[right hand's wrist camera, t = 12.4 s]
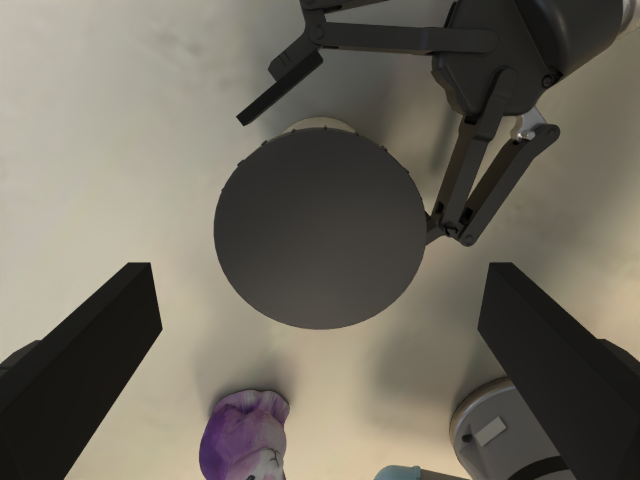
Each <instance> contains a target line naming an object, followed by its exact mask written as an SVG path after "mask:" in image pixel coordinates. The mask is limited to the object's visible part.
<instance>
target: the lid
mask: <svg viewBox="0 0 640 480" xmlns="http://www.w3.org/2000/svg"><path fill="white" fill-rule="evenodd" d="M387 151H388V150H387V149H386V148H385V147H383V146H382V147H380V146H379V145H378V144H376V143H374V142H373V141H371V140H369V139H368V138H365V137H363V136H361V135H359V134H358V133H357V132H356V131H355V133H353V132H350V131H346V130H342V129H336V128H328V127H327V126H326V125H324V127H311V128H304V129H298V130H295V129H293V130H292V131H291V132H287V133H284V134H282V135H280V136H277V137H275V138H273V139H271V140H269V141H268V142H267V140H266V141H264V142H263V143H262V144H261V146H260V147H259V148H257V149H256V150H255V151H254V152H253V153H251V154H250V155H249V156H248V157H247V158H246V159H245V160H242V161H241V162H240V163H238V165H237V166H238V167H237V168H236V169H235V171H234V172H233V173H232V175H231V176H230V178H229V179H228V181H227V182H226V184H225V186H224V188H223V189H222V190H221V191H222V192H221V195H220V197H219V200H218V204H217V207H216V212H215V218H214V242H215V249H216V252H217V256H218V260H219V262H220V265H221V267H222V270H223V272H224V274H225V275H226V277H227V279H228V281H229V282H230V284H231V285H232V286H233V288H234V289H235V290H236V292H237V293H238V294H239V295H240V296H241V297H242V298H243V299H244V300H245V301H246V302H247V303H248V304H250V305H251V306H252V307H253V308H255V309H256V310H257V311H259V312H261V313H262V314H264V315H266V316H267V317H269V318H272V319H274V320H276V321H278V322H281V323H284V324H287V325H290V326H294V327H299V328H305V329H314V330H318V329H335V328H342V327H346V326H350V325H354V324H357V323H359V322H362V321H365V320H367V319H369V318H371V317H373V316H375V315H377V314H378V313H380V312H381V311H383V310H384V309H386V308H387V307H388V306H390V305H391V304H392V303H393V302H394V301H396V299H397V298H398V297H399V296H400V295H401V294H402V293H403V292H404V291H405V290H406V288H407V287H408V286H409V284H410V283H411V281H412V280H413V278H414V276H415V274H416V273H417V271H418V268H419V266H420V263H421V261H422V258H423V254H424V250H425V246H426V236H427V224H426V215H425V210H424V205H423V202H422V198H421V196H420V193H419V191H418V189H417V188H416V186H415V184H414V182H413V180H412V179H411V177H410V176H409V172H408V171H407V170H406V169H405V168H404V167H402V166H401V165H400V164H399V162H398V161H397V160H396V159H395V158H394V157H392V156H391V155H390V154H389V153H388V152H387Z"/></svg>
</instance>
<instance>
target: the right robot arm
mask: <svg viewBox="0 0 640 480" xmlns="http://www.w3.org/2000/svg"><path fill="white" fill-rule="evenodd" d="M162 330H163V328H162V323H161V318H160V312H159V307H158V301H157V296H156V290H155V285H154V280H153V274H152V269H151V263H150V262H128V263H127V264H126V265H125V266H124V267H123V268H122V269H120V270H119V271H118V272H117V273H116V274H115V275H114V276H113V277H112V278H110V279H109V280H108V281H107V282H106V283H105V284H104V285H103V286H101V287H100V288H99V289H98V290H97V291H96V292H95V293H94V294H93V295H91V296H90V297H89V298H88V299H87V300H86V301H85V302H84V303H82V304H81V305H80V306H79V307H78V308H77V309H76V310H75V311H74V312H72V313H71V314H70V315H69V316H68V317H67V318H66V319H65V320H63V321H62V322H61V323H60V324H59V325H58V326H57V327H56V328H55V329H53V330H52V331H51V332H50V333H49V334H48V335H47V336H46V337H45V338H43V339H42V340H35V341H33V342H32V343H30V344H28V345H26V346H25V347H23V348H21V349H19V350H17V351H16V352H14V353H13V354H11V355H10V356H9V357H8V358H7V359H6V360H4V361H3V362H2V363H1V364H0V480H64V478H65V477H66V475H67V474H68V472H69V471H70V469H71V468H72V466H73V464H74V463H75V461H76V460H77V458H78V457H79V455H80V454H81V452H82V451H83V449H84V448H85V446H86V445H87V443H88V442H89V440H90V439H91V437H92V436H93V434H94V433H95V431H96V430H97V428H98V427H99V425H100V424H101V422H102V421H103V419H104V418H105V416H106V414H107V413H108V411H109V410H110V408H111V407H112V405H113V404H114V402H115V401H116V399H117V398H118V396H119V395H120V393H121V392H122V390H123V389H124V387H125V386H126V384H127V383H128V381H129V380H130V378H131V377H132V375H133V374H134V372H135V371H136V369H137V367H138V366H139V364H140V363H141V361H142V360H143V358H144V357H145V355H146V354H147V352H148V351H149V349H150V348H151V346H152V345H153V343H154V342H155V340H156V339H157V337H158V336H159V334H160V333H161V331H162ZM477 330H478V331H479V333H480V334H481V336H482V337H483V339H484V340H485V342H486V343H487V345H488V346H489V348H490V349H491V351H492V352H493V354H494V355H495V357H496V358H497V360H498V361H499V363H500V364H501V366H502V367H503V369H504V371H505V372H506V374H507V375H508V377H509V378H510V380H511V381H512V383H513V384H514V386H515V387H516V389H517V390H518V392H519V393H520V395H521V396H522V398H523V399H524V401H525V402H526V404H527V405H528V407H529V408H530V410H531V411H532V413H533V414H534V416H535V418H536V419H537V421H538V422H539V424H540V425H541V427H542V428H543V430H544V431H545V433H546V434H547V436H548V437H549V439H550V440H551V442H552V443H553V445H554V446H555V448H556V449H557V451H558V452H559V454H560V455H561V457H562V458H563V460H564V461H565V463H566V464H567V466H568V468H569V469H570V471H571V472H572V474H573V475H574V477H575V478H576V480H640V362H639V361H638V360H637V359H635V358H634V357H633V356H632V355H631V354H629V353H628V352H627V351H625V350H624V349H622V348H620V347H618V346H616V345H615V344H613V343H611V342H609V341H607V340H606V339H597V338H595V337H594V336H593V335H592V334H591V333H590V332H589V331H588V330H587V329H585V328H584V327H583V326H582V325H581V324H580V323H579V322H578V321H577V320H575V319H574V318H573V317H572V316H571V315H570V314H569V313H568V312H566V311H565V310H564V309H563V308H562V307H561V306H560V305H559V304H558V303H556V302H555V301H554V300H553V299H552V298H551V297H550V296H549V295H547V294H546V293H545V292H544V291H543V290H542V289H541V288H540V287H539V286H537V285H536V284H535V283H534V282H533V281H532V280H531V279H530V278H528V277H527V276H526V275H525V274H524V273H523V272H522V271H521V270H520V269H518V268H517V267H516V266H515V265H514V264H513V263H512V262H490V263H489V269H488V274H487V280H486V285H485V290H484V296H483V301H482V307H481V312H480V318H479V323H478V328H477Z"/></svg>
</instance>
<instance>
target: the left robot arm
mask: <svg viewBox="0 0 640 480" xmlns="http://www.w3.org/2000/svg"><path fill="white" fill-rule="evenodd" d="M383 1H388V0H300V5H301V9H302V12H303V16H304V19H305V23H306V25H305V31H304V33H303V34H302V35H301V36H300V37H299V38H298V39H297V40H296V41H295V42H294V43H292V44H291V45H290V46H289V47H288V48H287V49H285V50H284V51H283V52H282V53H281V54H280V55H279V56H277V57H276V58H275V59H274V60H273V61H272V62H271V64H270V66H269V68H268V71H269V72H270V73H271V75H272V76H273V78H274V79H275V80H276V83H275V84H274V85H273V86H271V87H270V88H269V89H268V90H267V91H266V92H264V93H263V94H262V95H261V96H260V97H258V98H257V99H256V100H255V101H254V102H253V103H251V104H250V105H249V106H248V107H247V108H246V109H244V110H243V111H242V112H241V113H240V114H238V115H237V116H236V117H237V119H238V120H239V121H240V122H241V124H242V125H243V126H245V125H248V124H250V123H251V122H253V121H254V120H255V119H256V118H257V117H259V116H260V115H261V114H262V113H263V112H265V111H266V110H267V109H268V108H269V107H271V106H272V105H273V104H274V103H275V102H276V101H278V100H279V99H280V98H281V97H282V96H284V95H285V94H286V93H287V92H288V91H290V90H291V89H292V88H293V87H294V86H296V85H297V84H298V83H299V82H300V81H302V80H303V79H304V78H305V77H306V76H308V75H309V74H310V73H311V72H312V71H314V70H315V69H316V68H317V67H318V66H320V65H321V64H322V63H323V58H322V57H321V55H320V54H319V52H318V51H319V50H320V49H337V50H354V51H370V52H387V53H404V54H412V55H424V56H433V57H432V70H433V71H431V73H432V75H433V77H434V78H435V80H436V82H437V83H438V84H440V85H441V86H442V87H443V88H444V89H445V92H446V95H447V99H448V102H449V104H450V105H451V107H452V109H453V110H454V111H457V112H459V113H460V114H462V115H463V117H462V120H461V123H460V126H459V136H458V139H457V142H456V145H455V148H454V151H453V154H452V156H451V159H450V162H449V165H448V168H447V171H446V174H445V177H444V179H443V182H442V185H441V188H440V191H439V194H438V197H437V200H436V202H435V205H434V208H433V211H432V214H431V216H429V215H428V214H427V212H426V211H425V215H426V224H427V236H426V245H428V244H429V243H431V242H432V241H434V240H435V239H437V238H438V237H440V236H443V235H446V236H447V237H452V238H454V239H455V240H457V241H459V242H460V243H461V244H462V245H463V246H466V247H468V246H472V245H473V244H474V243H475V242H476V241H477V239H478V238H479V236H480V235H481V234H482V232H483V231H484V229H485V228H486V226H487V225H488V223H489V222H490V221H491V219H492V218H493V216H494V215H495V213H496V212H497V211H498V209H499V208H500V206H501V205H502V203H503V202H504V201H505V199H506V198H507V196H508V195H509V193H510V192H511V191H512V189H513V188H514V186H515V185H516V183H517V182H518V180H519V179H520V178H521V176H522V175H523V173H524V172H525V170H526V169H527V168H528V166H529V165H530V163H531V162H532V160H533V159H534V158H535V157H536V156H537V155H539V154H540V153H541V152H542V151H544V150H545V149H546V148H547V147H549V146H550V145H551V144H552V143H554V142H555V141H556V140H557V139H558V138H559V135H560V129H559V127H558V126H557V125H553V124H548V123H547V122H546V121H545V120H544V118H543V117H542V115H541V114H540V112H539V111H538V110H537V108H536V107H535V104H536V103H537V101H538V99H539V98H540V96H541V95H542V94H543V93H544V92H545V91H546V90H547V89H549V88H550V87H552V86H553V85H555V84H557V83H558V82H560V81H561V80H563V79H564V78H565V77H567V76H568V75H570V74H571V73H573V72H574V71H575V70H577V69H578V68H580V67H581V66H583V65H584V64H585V63H587V62H588V61H590V60H591V59H593V58H594V57H595V56H597V55H598V54H600V53H601V52H603V51H604V50H606V49H607V48H608V47H609V46H610V45H611V44H612V43H613V42H614V40H618V39H620V38H622V37H624V36H626V35H628V34H629V33H630V32H632V31H633V30H635V29H636V28H637V27H639V26H640V0H454V2H453V4H452V6H451V8H450V11H449V13H448V16H447V19H446V22H445V24H444V27H443V28H438V27H426V28H414V27H398V26H382V25H365V24H349V23H333V22H326V19H325V16H324V14H328V13H332V12H337V11H342V10H346V9H351V8H355V7H360V6H365V5H369V4H374V3H379V2H383ZM502 116H516V118H517V121H516V125H515V126H514V128H513V129H512V130H511V131H510V136H511V139H509V140H508V141H507V143H506V144H505V145H504V146H503V147H502V149H501V150H500V151H499V153H498V154H497V156H496V157H495V159H494V160H493V162H492V163H491V165H490V166H489V168H488V170H487V171H486V173H485V174H484V176H483V177H482V179H481V180H480V182H479V183H478V185H477V186H476V188H475V189H474V191H473V192H472V194H471V195H470V197H469V198H468V196H469V193H470V190H471V188H472V185H473V182H474V180H475V177H476V174H477V172H478V169H479V167H480V164H481V161H482V159H483V156H484V153H485V151H486V148H487V145H488V143H489V142H490V141H491V140H492V139H493V138H494V136H495V134H496V131H497V129H498V126H499V123H500V121H501V118H502ZM467 198H468V200H467ZM450 439H451V443H452V445H453V448H454V451H455V453H456V456H457V458H458V460H459V462H460V463H461V465H462V466H463V467H464V469H465V470H466V471H467V472H468V474H469V475H470V476H471V477H472V479H473V480H576V478H575V477H574V475H573V474H572V472H571V471H570V469H569V468H568V466H567V464H566V463H565V461H564V460H563V458H562V457H561V455H560V454H559V452H558V451H557V449H556V448H555V446H554V445H553V443H552V442H551V440H550V439H549V437H548V436H547V434H546V433H545V431H544V430H543V428H542V427H541V425H540V424H539V422H538V421H537V419H536V418H535V416H534V414H533V413H532V411H531V410H530V408H529V407H528V405H527V404H526V402H525V401H524V399H523V398H522V396H521V395H520V393H519V392H518V390H517V389H516V387H515V386H514V384H513V383H512V381H511V380H510V378H509V377H506V378H502V379H499V380H496V381H493V382H491V383H488V384H486V385H484V386H482V387H481V388H479V389H477V390H476V391H475V392H473V393H472V394H471V395H469V396H468V397H467V398H466V399H465V400H464V401H463V402H462V403H461V404H460V406H459V407H458V408H457V410H456V412H455V413H454V415H453V418H452V421H451V424H450ZM374 480H469V479H464V478H460V477H455V476H451V475H446V474H442V473H437V472H433V471H428V470H424V469H420V467H419V466H413V467H405V466H397V465H390V466H386V467H385V468H383V469H382V470H380V472H379V473H378V474H377V475H376V477H375V478H374Z"/></svg>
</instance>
